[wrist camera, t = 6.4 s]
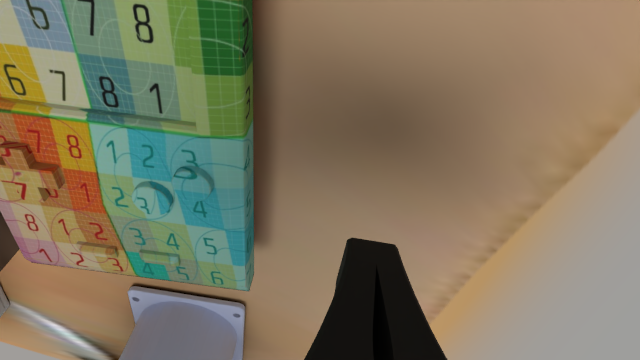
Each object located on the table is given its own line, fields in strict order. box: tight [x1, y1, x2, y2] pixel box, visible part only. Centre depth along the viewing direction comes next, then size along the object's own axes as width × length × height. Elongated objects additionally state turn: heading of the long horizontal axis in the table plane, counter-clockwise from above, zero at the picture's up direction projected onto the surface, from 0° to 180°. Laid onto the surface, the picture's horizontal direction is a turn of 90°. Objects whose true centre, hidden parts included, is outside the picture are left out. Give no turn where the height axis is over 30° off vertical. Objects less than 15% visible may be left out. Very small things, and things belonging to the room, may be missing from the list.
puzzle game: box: [0, 0, 254, 291], centre depth 17 cm, size 12×5×20 cm
